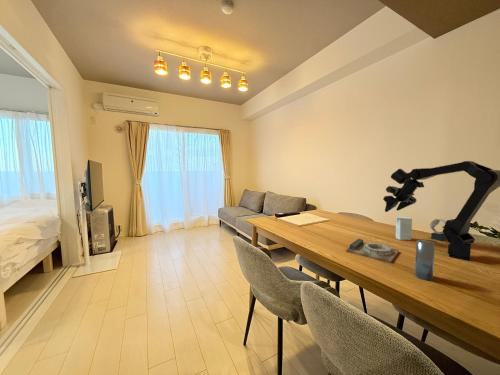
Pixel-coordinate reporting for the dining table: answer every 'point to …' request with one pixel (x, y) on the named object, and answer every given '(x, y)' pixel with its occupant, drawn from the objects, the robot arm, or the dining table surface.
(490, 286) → the dining table surface
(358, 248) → the jig
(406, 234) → the skincare box
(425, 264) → the dark grey cylinder
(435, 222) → the watch
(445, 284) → the dining table surface
